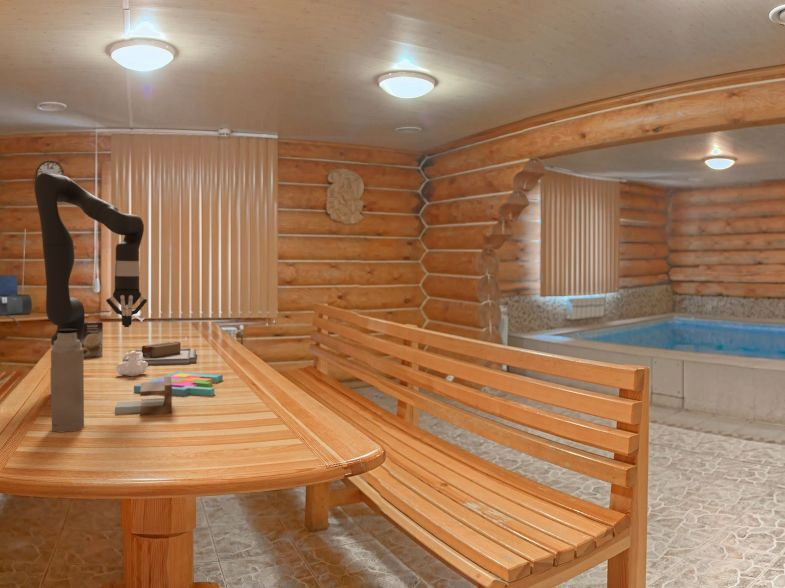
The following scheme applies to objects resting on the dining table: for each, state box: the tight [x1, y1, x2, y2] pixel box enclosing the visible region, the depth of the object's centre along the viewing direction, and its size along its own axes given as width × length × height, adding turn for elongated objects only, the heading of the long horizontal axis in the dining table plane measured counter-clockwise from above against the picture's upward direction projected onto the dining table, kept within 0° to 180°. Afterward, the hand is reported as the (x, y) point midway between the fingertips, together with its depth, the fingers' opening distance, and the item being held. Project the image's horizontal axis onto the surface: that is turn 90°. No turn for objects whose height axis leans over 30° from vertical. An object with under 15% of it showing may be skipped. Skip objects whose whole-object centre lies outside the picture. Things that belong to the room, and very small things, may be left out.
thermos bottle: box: [50, 329, 85, 432], centre depth 168 cm, size 8×8×28 cm
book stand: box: [122, 341, 197, 366], centre depth 280 cm, size 30×30×8 cm
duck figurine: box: [115, 351, 149, 377], centre depth 242 cm, size 12×8×11 cm
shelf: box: [139, 377, 173, 416], centre depth 191 cm, size 9×13×9 cm
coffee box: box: [82, 320, 104, 358], centre depth 283 cm, size 9×6×16 cm
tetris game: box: [133, 371, 224, 397], centre depth 225 cm, size 28×3×28 cm
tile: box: [114, 400, 165, 415], centre depth 191 cm, size 14×7×2 cm, turn 110°
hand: (126, 326), depth 200 cm, fingers closed
